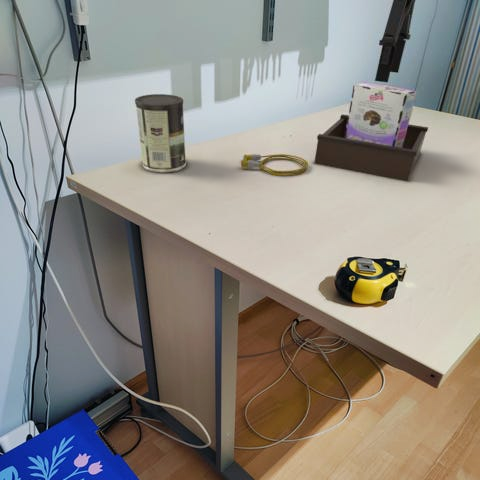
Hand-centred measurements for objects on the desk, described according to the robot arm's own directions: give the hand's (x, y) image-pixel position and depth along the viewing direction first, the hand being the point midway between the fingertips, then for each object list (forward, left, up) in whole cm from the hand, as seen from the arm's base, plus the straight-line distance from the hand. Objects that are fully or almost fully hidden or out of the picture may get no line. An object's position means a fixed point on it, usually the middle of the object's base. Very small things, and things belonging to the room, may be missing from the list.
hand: (386, 76), depth 97 cm
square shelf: (0, 0, -19) cm, 19 cm away
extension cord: (+19, +18, -19) cm, 32 cm away
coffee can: (+42, +31, -19) cm, 55 cm away
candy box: (0, 0, -19) cm, 19 cm away
